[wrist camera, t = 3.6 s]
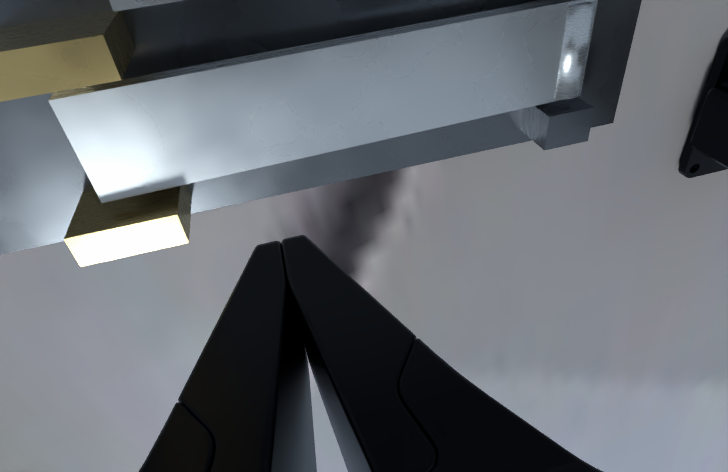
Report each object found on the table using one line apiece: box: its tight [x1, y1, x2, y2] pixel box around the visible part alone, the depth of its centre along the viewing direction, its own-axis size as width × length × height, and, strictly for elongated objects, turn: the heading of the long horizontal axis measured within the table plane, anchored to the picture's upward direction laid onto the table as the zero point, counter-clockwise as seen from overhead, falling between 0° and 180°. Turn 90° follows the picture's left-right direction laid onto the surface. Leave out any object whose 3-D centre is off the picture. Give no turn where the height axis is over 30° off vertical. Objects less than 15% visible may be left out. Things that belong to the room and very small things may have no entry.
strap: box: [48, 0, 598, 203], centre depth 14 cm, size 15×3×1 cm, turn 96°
